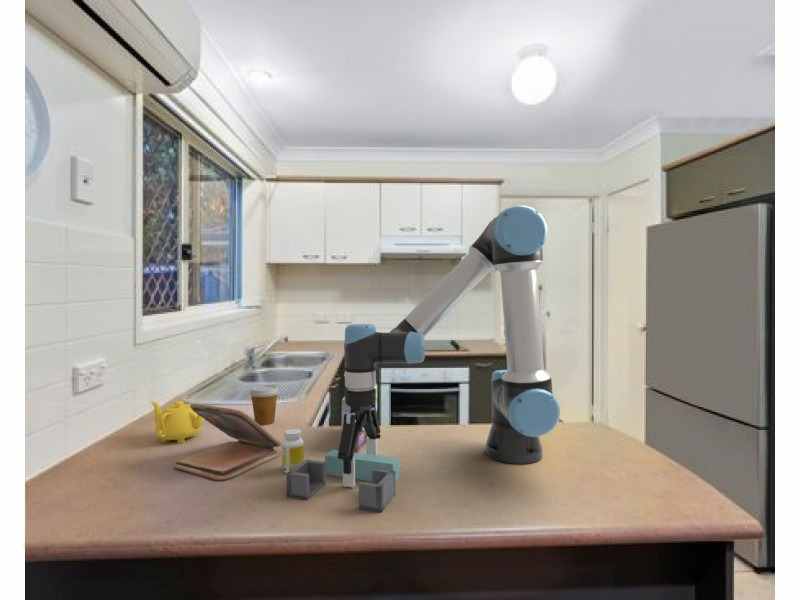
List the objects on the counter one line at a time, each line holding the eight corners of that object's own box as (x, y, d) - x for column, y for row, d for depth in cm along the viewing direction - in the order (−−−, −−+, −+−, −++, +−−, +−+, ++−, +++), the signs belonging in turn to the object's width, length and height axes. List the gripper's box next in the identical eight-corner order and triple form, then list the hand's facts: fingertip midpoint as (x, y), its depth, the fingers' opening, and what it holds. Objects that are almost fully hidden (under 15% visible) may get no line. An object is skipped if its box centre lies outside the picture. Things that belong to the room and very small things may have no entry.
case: (285, 455, 122) (284, 397, 122) (223, 484, 104) (221, 416, 104) (233, 444, 132) (232, 391, 132) (168, 469, 113) (166, 407, 113)
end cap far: (325, 483, 103) (325, 461, 103) (306, 500, 95) (306, 476, 95) (306, 481, 105) (306, 459, 104) (286, 496, 97) (286, 473, 97)
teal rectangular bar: (399, 478, 106) (398, 458, 106) (393, 485, 102) (392, 464, 102) (333, 468, 112) (332, 449, 112) (325, 475, 109) (324, 455, 109)
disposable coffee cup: (284, 421, 154) (284, 386, 153) (263, 428, 145) (262, 392, 145) (266, 417, 159) (265, 384, 158) (244, 423, 151) (243, 389, 150)
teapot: (130, 445, 130) (129, 407, 130) (167, 430, 145) (166, 395, 144) (189, 450, 126) (188, 410, 126) (221, 433, 140) (220, 398, 140)
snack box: (359, 453, 123) (358, 399, 122) (340, 451, 124) (339, 398, 124) (378, 429, 143) (377, 383, 143) (361, 428, 145) (361, 382, 144)
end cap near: (359, 508, 91) (358, 484, 91) (374, 491, 99) (374, 468, 99) (381, 512, 89) (381, 487, 89) (395, 494, 97) (395, 471, 97)
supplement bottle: (308, 467, 113) (307, 429, 113) (296, 475, 108) (296, 435, 108) (290, 464, 115) (289, 427, 115) (277, 472, 110) (277, 433, 109)
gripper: (366, 377, 120) (366, 454, 120) (321, 398, 96) (322, 494, 97) (392, 378, 117) (392, 458, 118) (352, 401, 94) (353, 499, 94)
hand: (361, 474), depth 107 cm, fingers open, 13 cm apart
